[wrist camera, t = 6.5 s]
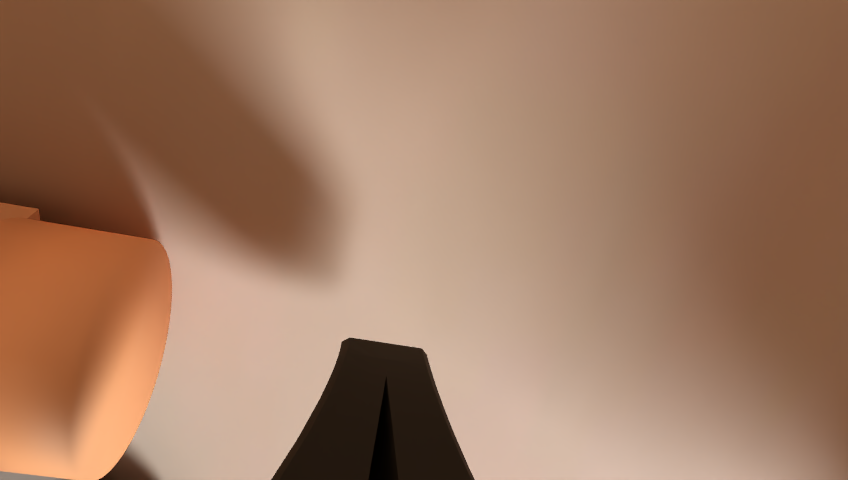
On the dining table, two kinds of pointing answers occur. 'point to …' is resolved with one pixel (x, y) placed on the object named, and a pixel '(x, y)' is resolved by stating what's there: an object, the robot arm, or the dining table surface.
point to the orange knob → (76, 343)
